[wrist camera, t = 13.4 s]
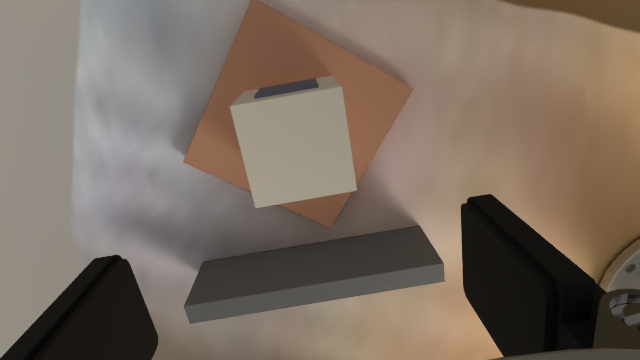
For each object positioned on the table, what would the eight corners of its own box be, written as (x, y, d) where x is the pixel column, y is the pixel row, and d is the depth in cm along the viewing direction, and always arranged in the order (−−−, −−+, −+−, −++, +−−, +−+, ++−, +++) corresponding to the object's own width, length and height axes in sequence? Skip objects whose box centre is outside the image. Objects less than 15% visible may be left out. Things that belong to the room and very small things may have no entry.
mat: (409, 86, 27) (413, 88, 26) (329, 222, 31) (330, 228, 30) (254, -1, 25) (252, -3, 24) (186, 157, 28) (182, 162, 27)
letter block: (332, 73, 26) (341, 83, 20) (345, 159, 28) (357, 190, 22) (244, 88, 26) (228, 103, 20) (264, 173, 28) (255, 208, 22)
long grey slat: (419, 225, 31) (443, 263, 26) (421, 241, 32) (444, 281, 26) (202, 262, 31) (183, 306, 26) (207, 277, 32) (189, 323, 27)
